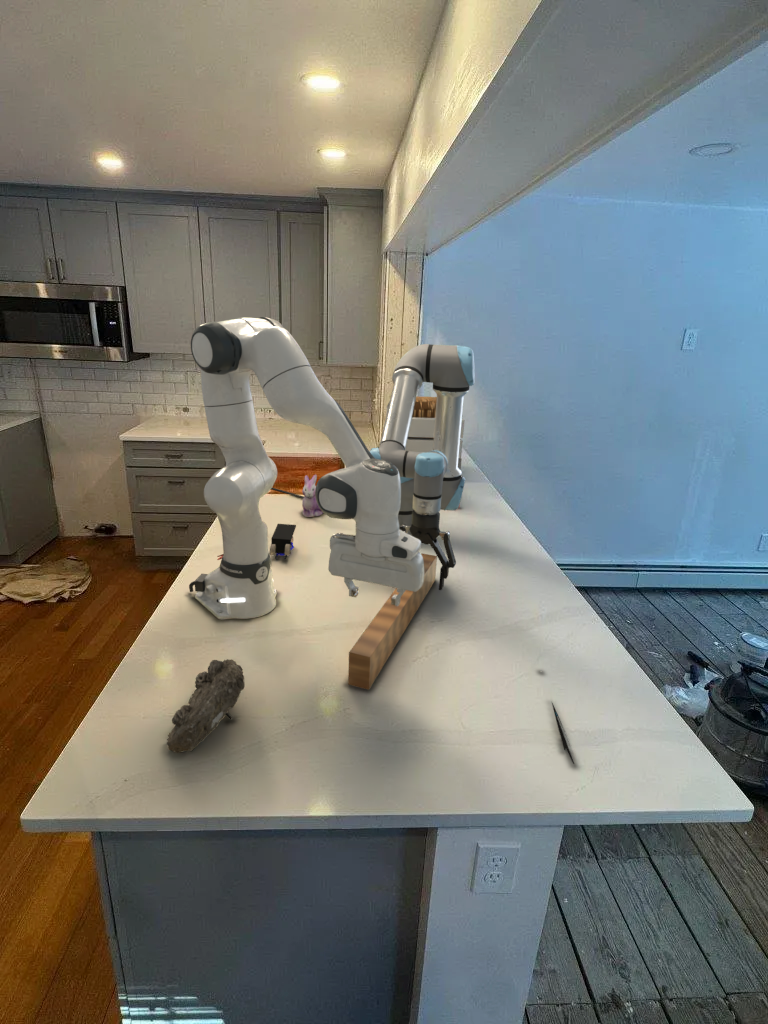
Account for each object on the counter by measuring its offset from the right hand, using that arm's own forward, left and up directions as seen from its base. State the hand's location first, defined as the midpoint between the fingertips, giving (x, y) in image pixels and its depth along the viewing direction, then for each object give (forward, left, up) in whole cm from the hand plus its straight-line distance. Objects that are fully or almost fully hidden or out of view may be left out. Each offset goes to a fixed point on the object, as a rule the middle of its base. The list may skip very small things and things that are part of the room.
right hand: (420, 584), depth 160 cm
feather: (+54, -15, -2) cm, 56 cm away
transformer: (-88, +85, -2) cm, 122 cm away
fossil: (+14, -68, -2) cm, 70 cm away
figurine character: (-44, -18, -2) cm, 48 cm away
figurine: (-69, +10, -2) cm, 70 cm away
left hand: (+20, -34, +15) cm, 42 cm away
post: (+10, -17, -2) cm, 20 cm away
